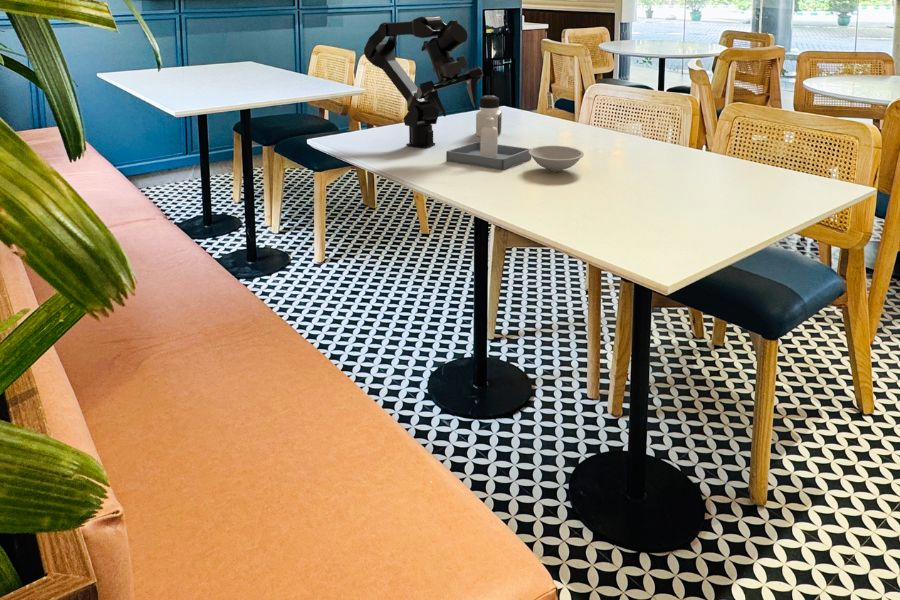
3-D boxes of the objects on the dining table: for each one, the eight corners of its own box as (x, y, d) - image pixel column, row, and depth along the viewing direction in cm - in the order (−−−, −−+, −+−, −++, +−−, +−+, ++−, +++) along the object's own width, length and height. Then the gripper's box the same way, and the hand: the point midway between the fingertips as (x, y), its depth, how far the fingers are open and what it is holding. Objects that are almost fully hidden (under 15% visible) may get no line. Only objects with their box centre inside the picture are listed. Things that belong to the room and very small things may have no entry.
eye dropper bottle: (476, 156, 231) (477, 112, 226) (494, 154, 233) (495, 111, 228) (482, 159, 227) (483, 115, 223) (501, 157, 229) (502, 114, 225)
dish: (525, 163, 227) (526, 145, 225) (577, 163, 227) (579, 145, 225) (530, 179, 211) (531, 159, 209) (587, 179, 210) (588, 160, 209)
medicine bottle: (498, 137, 260) (499, 98, 255) (475, 136, 261) (476, 97, 257) (501, 133, 266) (502, 95, 262) (479, 132, 268) (480, 94, 263)
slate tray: (446, 161, 229) (446, 151, 228) (477, 151, 241) (477, 141, 240) (502, 170, 219) (502, 159, 218) (531, 158, 232) (531, 149, 231)
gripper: (415, 57, 222) (435, 112, 222) (478, 39, 226) (497, 93, 226) (408, 72, 233) (427, 124, 233) (469, 54, 237) (487, 105, 237)
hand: (460, 111), depth 232 cm, fingers open, 9 cm apart
